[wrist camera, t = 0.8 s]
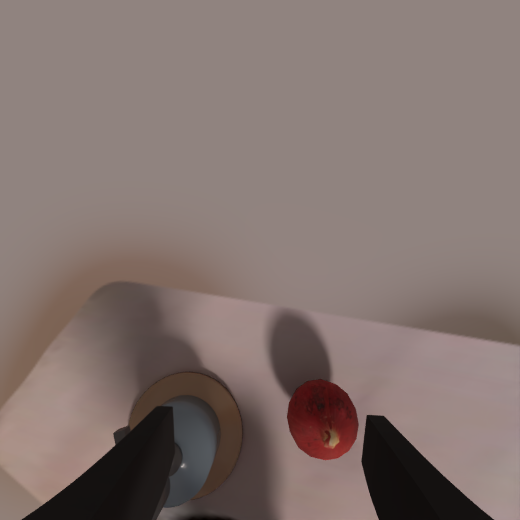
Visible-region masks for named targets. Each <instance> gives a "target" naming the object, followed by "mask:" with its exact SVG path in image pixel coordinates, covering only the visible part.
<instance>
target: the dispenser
mask: <svg viewBox="0 0 520 520" xmlns="http://www.w3.org/2000/svg"><path fill="white" fill-rule="evenodd" d="M156 406H172V407H173V418H174V440H175V455H174V458H173V462H172V465H171V469H170V472H169V479H170V493H169V497H168V499H167V501H166V503H165V505H164V506H163V507H164V508H168V507H175V506H179V505H181V504H183V503H185V502H187V501H189V500H193V499H197V498H200V497H203V496H205V495H207V494H209V493H210V492H212V491H214V490H215V489H216V488H218V487H219V486H220V485H221V484H222V483H223V482H224V481H225V480H226V479H227V477H228V476H229V474H230V473H231V471H232V470H233V468H234V466H235V464H236V461H237V459H238V456H239V452H240V449H241V443H242V420H241V416H240V412H239V409H238V406H237V404H236V402H235V400H234V399H233V397H232V396H231V394H230V393H229V391H228V390H227V389H226V388H225V387H224V386H223V385H222V384H220V383H219V382H218V381H216V380H215V379H213V378H211V377H209V376H207V375H204V374H201V373H195V372H182V373H176V374H173V375H170V376H167V377H165V378H163V379H162V380H160V381H158V382H156V383H155V384H154V385H152V386H151V387H150V388H149V389H148V390H147V391H146V392H145V393H144V394H143V395H142V397H141V398H140V399H139V401H138V402H137V404H136V406H135V408H134V410H133V412H132V415H131V418H130V421H129V425H130V430H132V429H133V428H134V427H135V426H136V425H137V424H138V423H139V422H141V421H142V420H143V419H144V418H145V417H146V416H147V415H148V414H149V413H150V412H151V411H152V410H153V409H154V408H155V407H156ZM129 425H128V426H129Z"/></svg>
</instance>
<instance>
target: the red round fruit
mask: <svg viewBox="0 0 520 520" xmlns="http://www.w3.org/2000/svg"><path fill="white" fill-rule="evenodd" d="M287 419H288V424H289V429H290V432H291V435H292V436H293V438H294V440H295V442H296V444H297V446H298V447H299V448H300V449H301V450H302V451H304V452H305V453H307V454H308V455H309V456H311V457H314V458H318V459H323V460H330V459H336V458H339V457H340V456H342V455H343V454H345V453H346V452H348V451H349V450H350V448H351V446H352V445H353V443H354V442H355V440H356V437H357V431H358V418H357V413H356V409H355V407H354V405H353V403H352V401H351V399H350V398H349V396H348V394H347V393H346V392H345V391H344V390H342V389H341V388H340V387H339V386H338V385H336V384H333V383H331V382H328V381H325V380H322V379H318V380H311V381H307V382H306V383H304V384H303V385H301V386H300V387H299V388H297V389H296V391H295V393H294V395H293V397H292V398H291V400H290V402H289V407H288V413H287Z"/></svg>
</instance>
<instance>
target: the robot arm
mask: <svg viewBox="0 0 520 520" xmlns="http://www.w3.org/2000/svg"><path fill="white" fill-rule="evenodd" d="M174 455H175V440H174V418H173V407H172V406H156V407H155V408H154V409H153V410H152V411H151V412H150V413H149V414H148V415H147V416H146V417H145V418H144V419H143V420H142V421H141V422H139V423H138V424H137V425H136V426H135V427H134V428H133V429H132V430H131V431H130V432H129V433H128V434H127V435H126V436H125V437H124V438H123V439H122V440H121V441H120V442H118V443H117V444H116V445H115V446H114V447H113V448H112V449H111V450H110V451H109V452H108V453H107V454H105V455H104V456H103V457H102V458H101V459H100V460H99V461H97V462H96V463H95V464H94V465H93V466H92V467H90V468H89V469H88V470H87V471H86V472H85V473H83V474H82V475H81V476H80V477H79V478H77V479H76V480H75V481H74V482H72V483H71V484H70V485H69V486H67V487H66V488H65V489H64V490H62V491H61V492H60V493H58V494H57V495H56V496H54V497H53V498H52V499H50V500H49V501H48V502H46V503H45V504H44V505H42V506H41V507H39V508H38V509H37V510H35V511H34V512H32V513H31V514H29V515H28V516H26V517H25V518H23V519H22V520H152V518H153V516H154V513H155V511H156V508H157V506H158V503H159V501H160V498H161V496H162V493H163V491H164V488H165V485H166V482H167V479H168V476H169V472H170V469H171V465H172V462H173V458H174ZM362 466H363V470H364V474H365V478H366V482H367V485H368V489H369V493H370V496H371V499H372V502H373V505H374V507H375V510H376V513H377V516H378V518H379V520H494V519H492V518H491V517H490V516H489V515H487V514H486V513H485V512H484V511H483V510H481V509H480V508H479V507H478V506H477V505H475V504H474V503H473V502H472V501H471V500H470V499H469V498H467V497H466V496H465V495H464V494H463V493H462V492H461V491H460V490H459V489H457V488H456V487H455V486H454V485H453V484H452V483H451V482H450V481H449V480H447V479H446V478H445V477H444V476H443V475H442V474H441V473H440V472H439V471H438V470H437V469H436V468H435V467H434V466H433V465H432V464H431V463H430V462H429V461H428V460H427V459H426V458H425V457H424V456H423V455H422V454H421V453H420V452H419V451H418V450H417V449H416V448H415V447H414V446H413V445H412V444H411V443H410V442H409V441H408V440H407V439H406V438H405V437H404V436H403V435H402V434H401V433H400V432H399V431H398V430H397V429H396V428H395V427H394V426H393V425H392V424H391V423H390V422H389V421H388V420H387V419H386V418H385V417H384V416H377V415H367V418H366V427H365V435H364V444H363V453H362Z"/></svg>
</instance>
